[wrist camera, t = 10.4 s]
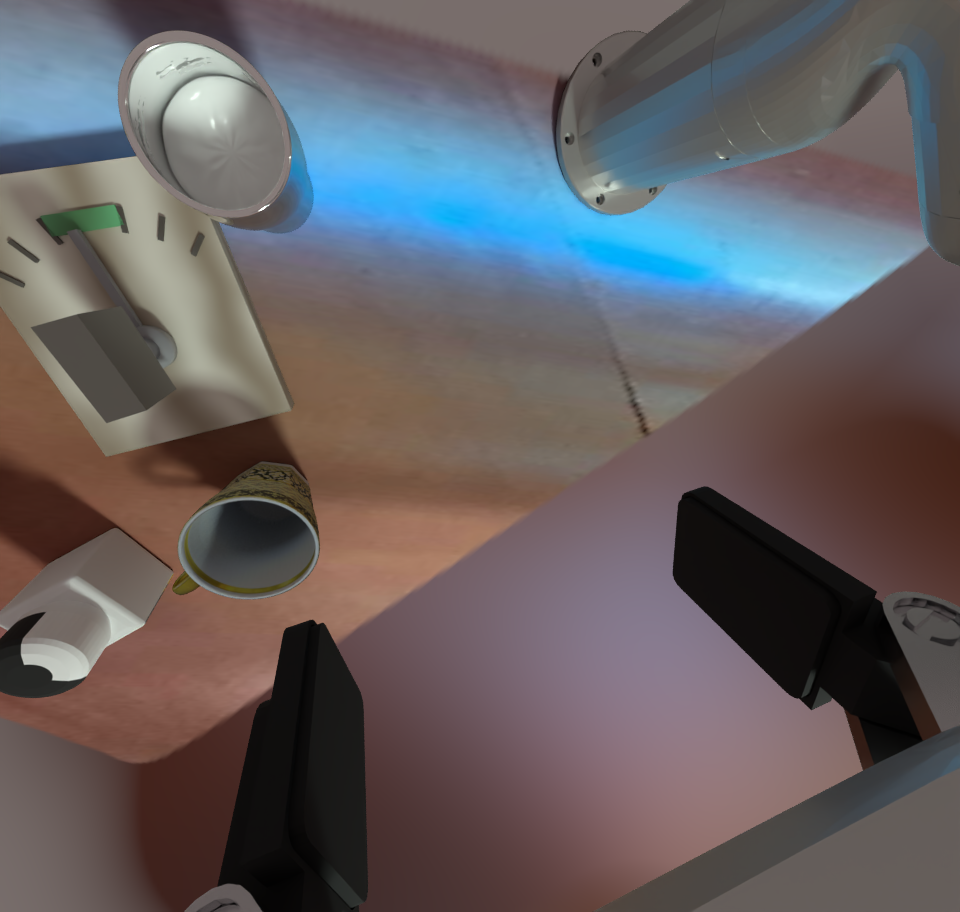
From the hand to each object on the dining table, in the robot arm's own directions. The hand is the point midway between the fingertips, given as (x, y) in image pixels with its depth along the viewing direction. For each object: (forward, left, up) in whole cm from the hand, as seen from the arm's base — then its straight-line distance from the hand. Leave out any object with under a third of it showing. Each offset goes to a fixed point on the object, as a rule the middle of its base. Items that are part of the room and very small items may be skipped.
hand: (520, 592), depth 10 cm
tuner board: (+18, -7, -32) cm, 38 cm away
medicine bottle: (+32, +14, -32) cm, 48 cm away
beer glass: (+6, -14, -32) cm, 36 cm away
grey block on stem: (+18, -7, -30) cm, 36 cm away
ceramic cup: (+17, +11, -32) cm, 38 cm away
